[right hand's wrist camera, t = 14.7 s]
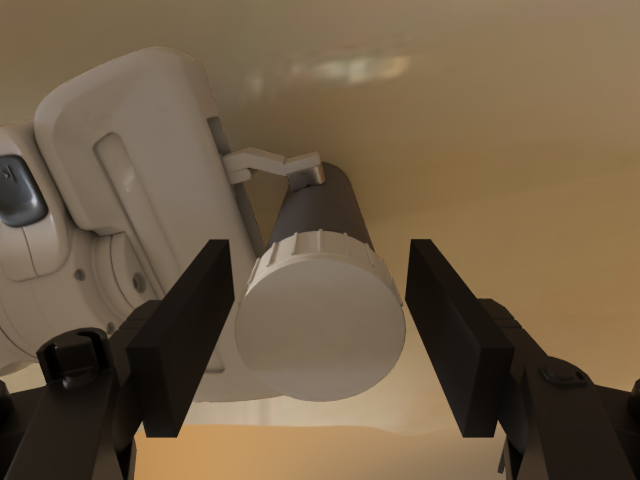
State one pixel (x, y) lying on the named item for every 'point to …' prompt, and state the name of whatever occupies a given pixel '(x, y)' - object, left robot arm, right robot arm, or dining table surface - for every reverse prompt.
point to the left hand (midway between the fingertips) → (335, 218)
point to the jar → (321, 209)
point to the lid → (320, 318)
